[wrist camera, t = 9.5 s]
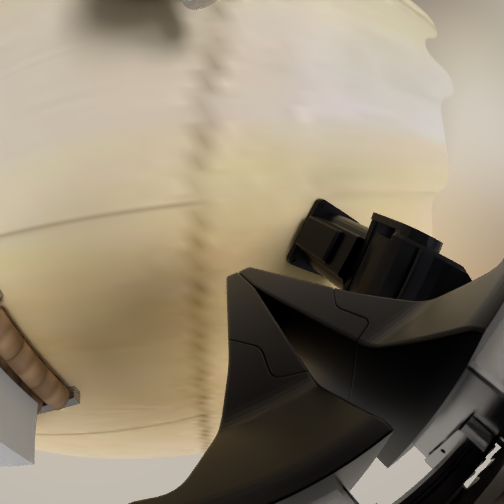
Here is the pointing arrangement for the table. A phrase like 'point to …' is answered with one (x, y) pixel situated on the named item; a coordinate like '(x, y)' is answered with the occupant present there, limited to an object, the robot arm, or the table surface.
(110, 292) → the table surface
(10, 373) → the roller
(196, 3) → the cup
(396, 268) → the robot arm
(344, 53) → the table surface
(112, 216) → the table surface
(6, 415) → the grey block
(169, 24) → the table surface
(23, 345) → the roller
